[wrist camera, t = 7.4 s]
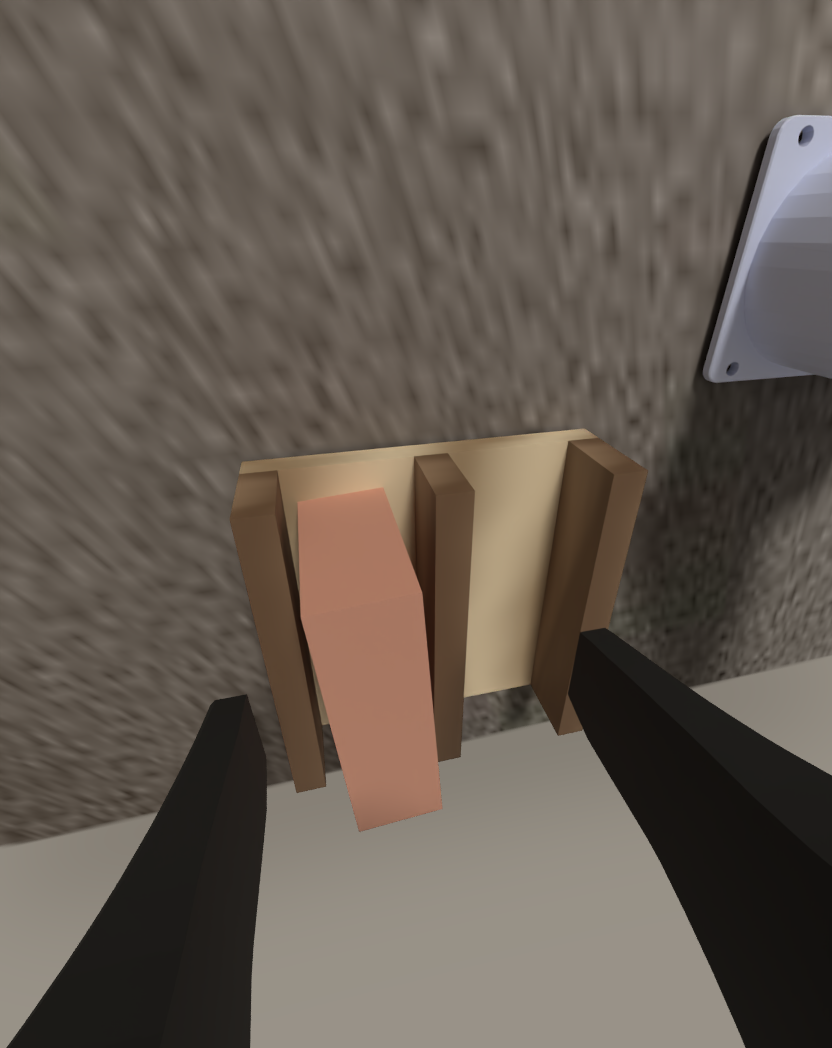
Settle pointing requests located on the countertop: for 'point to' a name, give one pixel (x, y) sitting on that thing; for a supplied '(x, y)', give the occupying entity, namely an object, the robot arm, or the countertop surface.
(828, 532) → the countertop surface
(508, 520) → the book rack
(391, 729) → the book
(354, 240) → the countertop surface
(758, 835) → the robot arm
